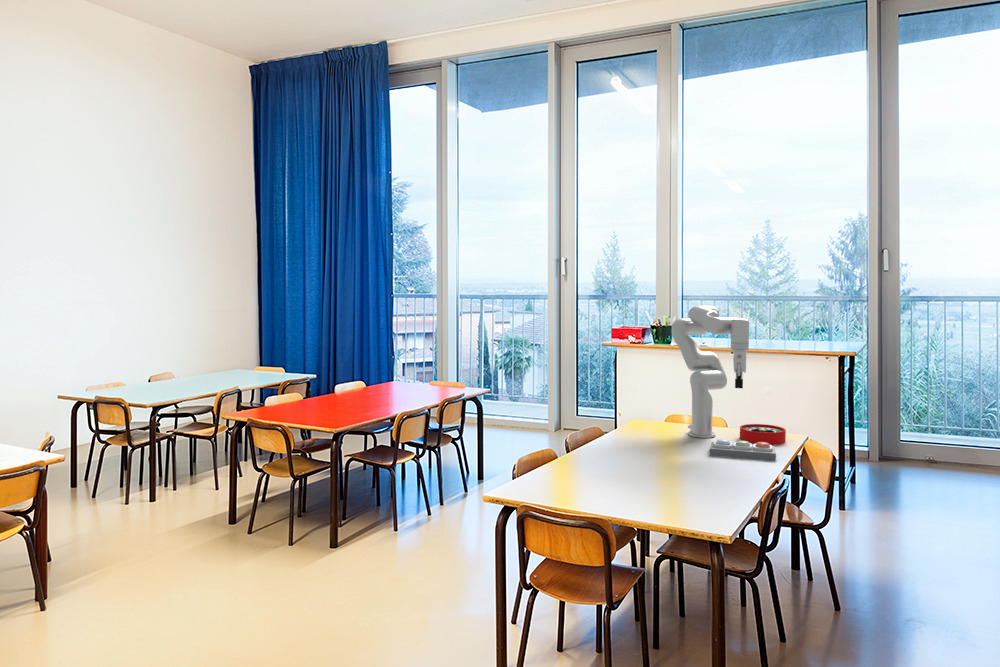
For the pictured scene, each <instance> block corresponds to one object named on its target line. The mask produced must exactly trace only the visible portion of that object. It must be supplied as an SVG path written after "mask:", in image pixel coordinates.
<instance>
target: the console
mask: <svg viewBox="0 0 1000 667" xmlns="http://www.w3.org/2000/svg"><path fill="white" fill-rule="evenodd" d="M736 445H737V441H736V442H732V441H729V445H720V444H717V440H715V441H711V443H710V446H709V456H710V457H723V458H724V457H725V458H734V459H735V458H736V459H748V460H761V461H772V462H773V461H775V462H776V461H777V451H776V445H769V448H762V447H756V444H752V443H749V447H748V446H736Z"/></svg>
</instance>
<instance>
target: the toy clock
mask: <svg viewBox="0 0 1000 667" xmlns="http://www.w3.org/2000/svg"><path fill="white" fill-rule="evenodd" d="M740 439H741V440H740ZM739 440H740V441H747V442H749V443H751V444H752V443H754V444H756V443H757V442H766V443H769V445H772V446H778V445H783V444H785V443H786V428H784V427H782V426H779V425H773V424H761V423H749V424H742V425H740V426H739Z"/></svg>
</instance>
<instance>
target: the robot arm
mask: <svg viewBox="0 0 1000 667" xmlns="http://www.w3.org/2000/svg"><path fill="white" fill-rule="evenodd" d="M687 315H688V317H685V318H683V317H682V318H678V319H676V320H675V321H673V322H672V324H671V336H672V338H673V341H674V343H675V344H676V345H677V347H678V349H679V350H680V351H679V352H680V353H681V355H682V357H683V358H682V359H683V360H684V362H685V365H686V367H687V369H688V370H689V371H691V372H693V373H691V375H690V377H689V383H690V388H691V424H689V425H687V429H690V430H689V431H688V435H689V436H690V437H693V438H701V439H710V438H714V437H716V433H715V432H713V397H712V395H711V393H710V391H714V390H722V389H724V388H726V386H727V384H728V377H727V375H726V373H725V372H726V371H725V370H724V368H723V365H722V363H721V360H720V358H719V357H718V355H717V354H716V353H714V352H712V351H702V350H700V348H699V347H698V344H697V342H696V341H695V340H694V339H693V338H692V337H690V336H699V335H700V336H702V335H704V334H706V333H709V334H710V333H711V334H713V335H730V351H733V354H732V356H733V358H732V360H733V363H732V364H733V372H734V373H735V379H734V388H735V389H743V388H744V385H743V384H744V382H743V381H744V379H743V373H744V374H745V373H746V372H747V351H749V348H750V345H749V342H750V321H749V319H747V318H740V317H732V316H731V317H720V312H719V310H718V308H717V307H716V306H714V305H695V306H692V307H691V308H690V309H689V310H688V313H687Z"/></svg>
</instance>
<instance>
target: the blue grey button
mask: <svg viewBox="0 0 1000 667" xmlns="http://www.w3.org/2000/svg"><path fill="white" fill-rule="evenodd" d="M716 441H717V444H720V445H729V442H730V440H728V439H722V438H718V439H717V440H716Z"/></svg>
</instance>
